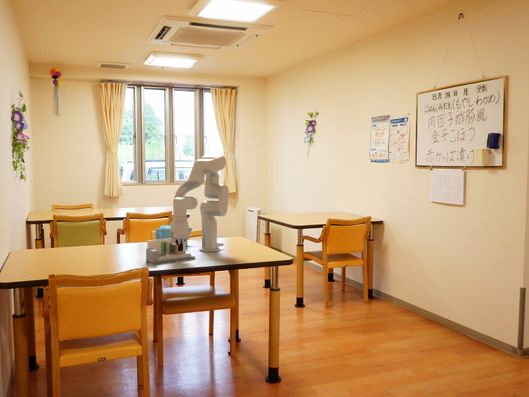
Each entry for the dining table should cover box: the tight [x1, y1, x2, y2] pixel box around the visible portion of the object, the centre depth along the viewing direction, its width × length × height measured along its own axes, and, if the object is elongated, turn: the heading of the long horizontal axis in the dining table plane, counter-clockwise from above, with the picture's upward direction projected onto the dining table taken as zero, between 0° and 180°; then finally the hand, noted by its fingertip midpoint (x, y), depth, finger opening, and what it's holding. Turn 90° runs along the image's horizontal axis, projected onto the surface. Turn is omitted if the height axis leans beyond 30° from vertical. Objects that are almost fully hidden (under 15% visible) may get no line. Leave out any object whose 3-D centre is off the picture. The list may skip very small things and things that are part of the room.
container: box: [154, 222, 193, 248], centre depth 333 cm, size 17×25×15 cm
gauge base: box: [145, 238, 196, 266], centre depth 286 cm, size 26×10×12 cm, turn 127°
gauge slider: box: [161, 243, 178, 257], centre depth 285 cm, size 8×8×8 cm
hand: (180, 250), depth 288 cm, fingers closed
